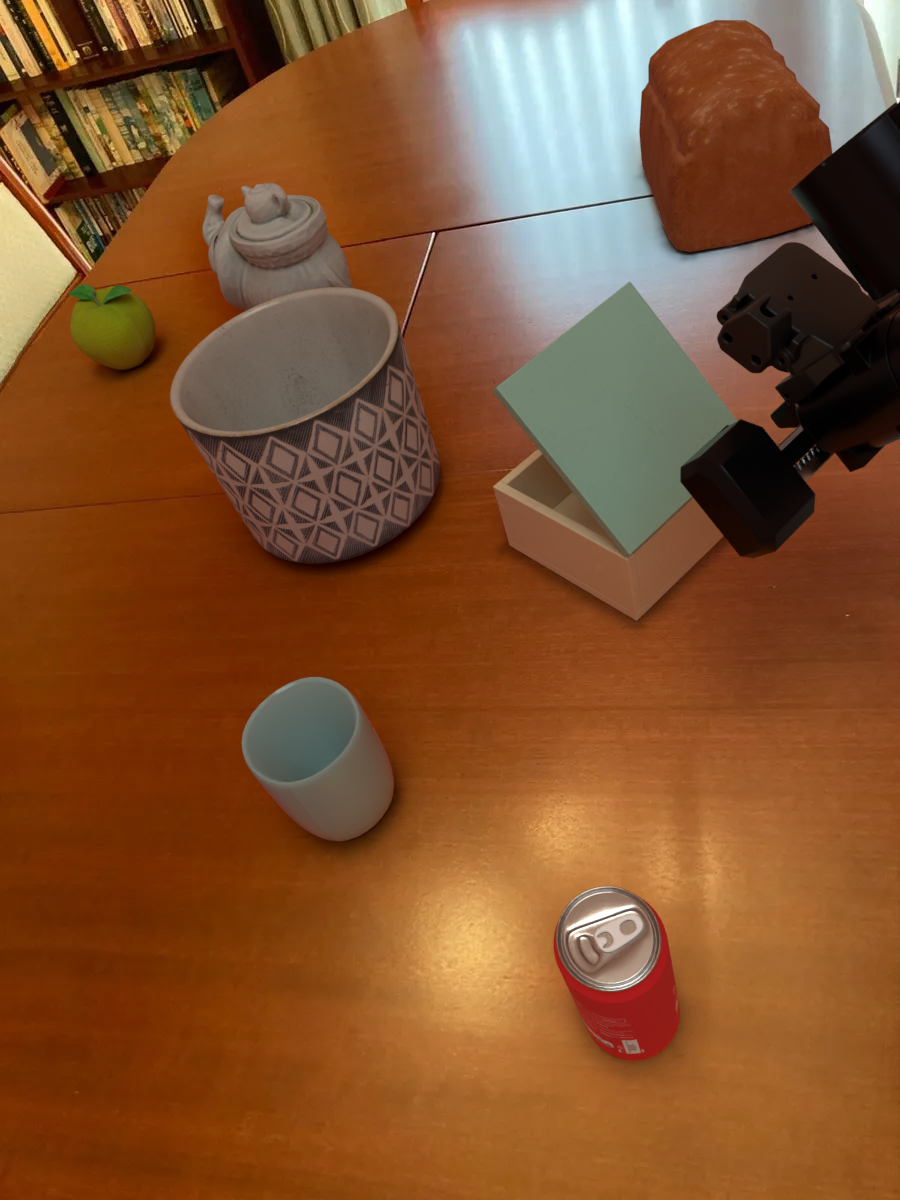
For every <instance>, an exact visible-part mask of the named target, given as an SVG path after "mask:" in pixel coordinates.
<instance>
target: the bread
mask: <svg viewBox="0 0 900 1200" xmlns="http://www.w3.org/2000/svg"><path fill="white" fill-rule="evenodd" d="M647 66H648V67H647V69H648V72H647V73H648V74H647V75H648V77H647V78H648V82H647V84H646V85H645V87H644V88H643V89H642V91H641V95H640V96H641V97H640V111H639V112H640V114H639V115H640V116H639V130H638V132H639V133H638V134H639V146H640V158H641V167H642V169H643V172H644V175H645V178H646V180H647V183H648V185H649V188H650V191H651V194H652V196H653V199H654V202H655V204H656V208H657V210H658V213H659V217H660V220H661V223H662V225H663V230H664V232H665V234H666V237H667V238H668V240H669V241H670V242H671V244H672V245H673V246H674V247H675V248H676V250H677V251H684V252H688V253H692V252H693V253H694V252H698V251H705V250H711V249H717V248H718V249H719V248H723V247H729V246H735V245H740V244H743V243H748V242H752V241H755V240H759V239H763V238H764V239H765V238H768V237H771V236H775V235H778V234H779V235H780V234H781V233H785V232H788V231H791V230H795V229H798V228H801V227H803V226H807V225H810V224H813V222H812V221H811V220H810V218H809V217H808V216H807V214H806V213H805V212H804V211H803V209H802V208H801V207H800V205H799V204H798V203H797V201H796V200H795V199H794V197H793V196H792V195H791V193H790V191H791V190H792V189H793V188H794V187H795V186H796V185H797V184H798V183H799V182H800V181H801V180H802V179H804V178H805V177H806V176H807V175H808V174H809V173H810V172H811V171H812V170H814V169H815V168H816V167H817V166H818V165H819V164H820V163H822V162H823V161H824V160H825V159H826V158H828V157H829V156H830V155H831V154H833V147H832V140H831V132H830V127H829V126H828V125H827V124H826V123H825V122H824V121H823V120H822V119H821V117H820V114H821V113H820V110H821V104H820V102H818V101H817V100H816V99H815V98H814V97H813V96H812V95H811V93H809V91H808V90H806V89H805V87H804V86H802V85H801V83H800V82H798V80H797V76H796V73H795V72H794V71H792V70H791V69H790V67H788V66H787V64H786V61H785V56H784V55H782V53H780V52H778V51H777V50H776V49H775V47H774V44H773V41H772V38H771V37H770V36H769V34H768V33H766V32H765V31H764V30H763V29H761V28H760V27H758V26H757V25H755V24H753V23H752V22H750V21H748V20H746V19H736V20H735V19H714V20H712V21H709V22H707V23H704V24H701V25H698V26H695V27H693V28H690V29H689V30H686V31H684V32H682V33H680V34H678V35H676V36H674V37H672V38H670V39H668V40H666V41H665V42H664V43H663V44H662V45H661V46H660V47H659V48H658V49H657V50H656V51H655V52H654V53H653V54H652V55H651V57H649V62H648V65H647Z"/></svg>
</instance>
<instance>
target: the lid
mask: <svg viewBox="0 0 900 1200" xmlns="http://www.w3.org/2000/svg"><path fill="white" fill-rule="evenodd" d="M492 393H493V395H494V396H495V397H496V398H497V399H498V401H499V402H500V403H501V404H502V405H503V407H504V408H505V409H506V410H507V412H508V413H509V414H510V416H511V417H512V419H514V421H515V422H516V423H517V424H518V426H519V427H520V428H521V429H522V431H523V432H524V433H525V435H526V436H527V437H528V438H529V439H530V440H531V442H532V443H533V444H534V446H535V447H536V448H537V449H539V450H540V452H541V453H542V454H543V455H544V457H545V458H546V459H547V460H548V462H549V463H550V464H551V465H552V467H553V468H554V469H555V470H556V472H557V473H558V474H559V475H560V477H561V478H562V479H563V480H564V482H565V483H566V484H567V485H568V487H569V488H570V489H571V490H572V492H573V493H574V494H575V495H576V497H577V498H578V499H579V500H580V502H581V503H582V504H583V505H584V507H585V508H586V509H587V510H588V512H589V513H590V514H591V515H592V517H593V518H594V519H595V520H596V522H597V523H598V524H599V525H600V527H601V528H602V529H603V530H604V532H605V533H606V534H607V535H608V537H609V538H610V539H611V540H612V542H613V543H614V544H615V545H616V547H617V548H618V549H619V550H620V552H621V553H622V554H623V555H624V556H628V555H630V554H631V553H632V552H634V551H635V550H636V549H637V548H638V547H639V546H640V545H641V544H642V543H643V542H644V541H645V540H646V539H647V538H648V537H650V536H651V535H652V534H653V533H654V532H655V531H656V530H657V529H658V528H659V527H660V526H661V525H662V524H663V523H664V522H666V521H667V520H668V519H669V518H670V517H671V516H672V515H673V514H674V513H675V512H676V511H677V510H678V509H679V508H680V507H682V506H683V505H684V504H685V503H686V502H687V501H688V500H689V499H690V498H691V497H692V496H691V494H690V493H689V492H688V491H687V489H686V488H685V487H684V486H683V484H682V483H681V482H680V468H681V466H682V465H683V464H684V463H686V462H687V461H688V460H689V459H690V458H691V457H692V456H693V455H694V454H695V453H696V452H698V451H699V450H700V449H701V448H702V447H703V446H704V445H705V444H706V443H707V442H708V441H710V440H711V439H712V438H713V437H714V436H716V435H717V434H718V433H719V432H720V431H721V430H722V429H723V428H724V427H725V426H726V425H731V424H733V423H735V422H736V421H738V419H737V418H736V416H735V415H734V414H733V413H732V412H731V410H730V409H729V408H728V406H727V405H726V403H724V401H723V400H722V399H721V397H720V396H719V394H718V393H717V392H716V391H715V389H714V388H713V387H712V385H711V384H710V383H709V382H708V380H707V379H706V378H705V376H704V375H703V374H702V373H701V371H700V370H699V369H698V367H697V366H696V364H695V363H694V362H693V361H692V359H690V357H689V355H688V354H687V353H686V351H684V349H683V347H682V346H681V345H680V344H679V343H678V341H677V340H676V339H675V338H674V336H673V335H672V334H671V333H670V330H668V328H667V327H666V326H665V325H664V323H663V322H662V321H661V320H660V318H659V317H658V315H657V314H656V313H655V312H654V311H653V309H652V308H651V306H650V305H649V304H648V302H647V301H646V300H645V299H644V297H643V296H642V295H641V294H640V292H639V291H638V289H637V288H636V287H635V286H634V284H633V283H632V282H631V281H628V282H627V283H625V284H624V285H623V286H621V287H620V288H619V289H618V290H617V291H615V292H614V293H613V294H611V296H609V297H607V299H606V300H604V301H603V302H602V303H600V304H599V305H598V306H597V307H595V308H594V309H593V310H592V311H590V312H589V313H588V314H586V315H585V316H584V317H583V318H581V319H580V320H579V321H578V322H576V323H575V324H574V325H572V326H571V327H570V328H569V329H568V330H566V331H565V332H563V334H561V335H560V336H559V337H558V338H556V339H555V340H554V341H552V342H551V343H550V344H548V346H546V347H544V349H543V350H541V351H540V352H539V353H537V354H536V355H535V356H534V357H532V358H531V359H530V360H529V361H527V362H526V363H525V364H523V365H522V366H521V367H520V368H518V369H517V370H515V372H513V373H512V374H511V375H509V376H508V377H507V378H506V379H504V380H503V381H502V382H501V383H499V384H498V385H497V386H496V387H495V388H494V389H493V390H492Z"/></svg>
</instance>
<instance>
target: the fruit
mask: <svg viewBox="0 0 900 1200" xmlns="http://www.w3.org/2000/svg"><path fill="white" fill-rule="evenodd" d="M67 296H70V297H73V298H76V299H78V300H77V301H76V302H75V304H74V305H73V309H72V312H71V317H70V326H69V327H70V329H69V331H70V334H71V338H72V340H73V343H74V344H75V345H76V347H77V348H78V349H79V350H80V351H81V352H82V353H83V354H84V355H85V356H87V358H90V359H91V360H92V361H94V362H96V363H98V364H100V365H103V366H105V367H107V368H110V369H114V370H118V371H119V370H120V371H125V370H131V369H133V368H136V367H138V366H141V365H142V364H143V363H144V362H145V361H146V360H147V359H148V358H149V356H150V355H151V353H152V352H153V349H154V346H155V343H156V335H157V332H156V323H155V318H154V316H153V314H152V312H151V310H150V308H149V306H148V305H147V304H146V302H145V301H144V300H143V299H142V298H141V297H140V296H139V295H137V294H136V293H134V292H132V289H131V288H129V287H128V286H124V285H121V284H120V285H119V284H118V285H111V286H108V287H106V288H99V289H96V290H95V288H94V286H91V285H89V284H86V283H80V284H78V285H77V286H76V287H74V288H73V289H72V290H71V291H70V292H69V293H68V294H67Z"/></svg>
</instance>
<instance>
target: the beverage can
mask: <svg viewBox="0 0 900 1200" xmlns="http://www.w3.org/2000/svg"><path fill="white" fill-rule="evenodd" d="M554 929H555V930H554V935H553V954H554V959H555V962H556V966H557V968H558V970H559V973H560V974H561V977H562V978H563V981H564V982H565V985H566V987H567V990H568V991H569V993H570V995H571V998H572V1000H573V1002H574V1004H575V1006H576V1008H577V1011H578V1013H579V1014H580V1018H581V1019H582V1021H583V1023H584V1025H585V1027H586V1029H587V1032H588V1033H589V1035H590V1037H591V1038H592V1040H593V1041H594V1042H595V1043H596V1044H597V1046H599V1048H600V1049H602V1050H603V1051H604V1052H606V1053H608V1054H609V1055H611V1056H612V1057H615V1058H617V1059H621V1060H625V1061H632V1062H633V1061H634V1062H635V1061H643V1060H648V1059H650V1058H653V1057H655V1056H656V1055H659V1054H660V1053H661V1052H663V1051H664V1050H665V1049H666V1048H667V1047H668V1046H669V1045H670V1044H671V1042H672V1041H673V1039H674V1037H675V1036H676V1033H677V1031H678V1028H679V1025H680V1018H681V1017H680V1016H681V1007H680V1002H679V1001H680V1000H679V995H678V990H677V983H676V977H675V972H674V967H673V962H672V955H671V949H670V944H669V939H668V934H667V931H666V927H665V925H664V922H663V921H662V919H661V917H660V915H659V914H658V912H657V911H656V910H655V908H654V907H652V905H651V904H650V903H649V902H647V901H646V900H645V899H644V898H642V897H641V896H639V895H637V894H636V893H635V892H632V891H630V890H628V889H625V888H622V887H619V886H615V885H602V886H601V885H600V886H595V887H592V888H589V889H586V890H585V891H582V892H581V893H579V894H577V895H576V896H575V897H573V898H572V899H571V900H570V901H569V902H568V903H567V904H566V906H565V907H564V909H563V910H562V913H560V916H559V919H558V920H557V923H556V926H555V928H554Z"/></svg>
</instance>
